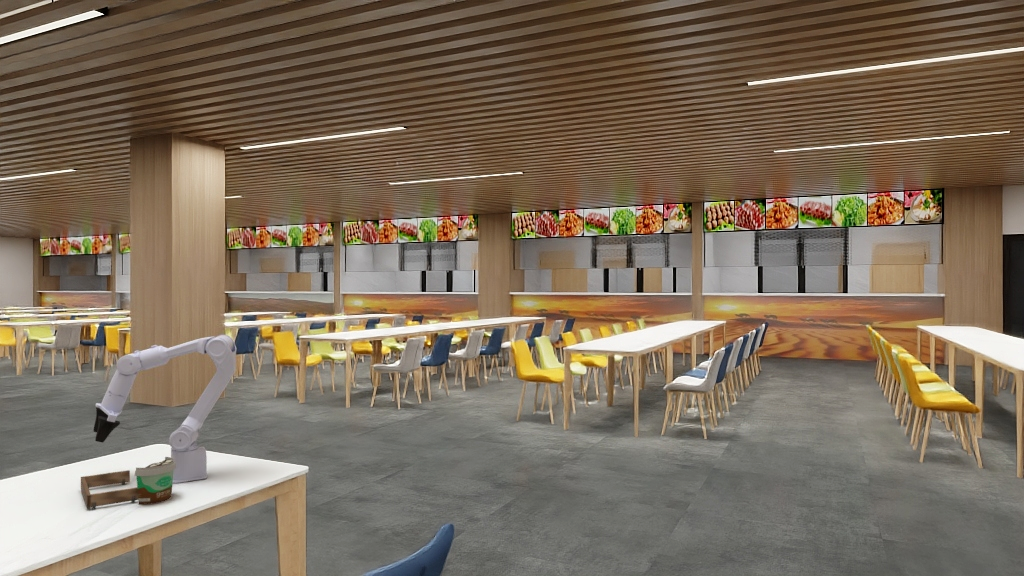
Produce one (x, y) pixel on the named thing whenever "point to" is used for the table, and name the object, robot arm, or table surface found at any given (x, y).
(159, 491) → the food container
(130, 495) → the wooden u-shaped frame
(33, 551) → the table surface
